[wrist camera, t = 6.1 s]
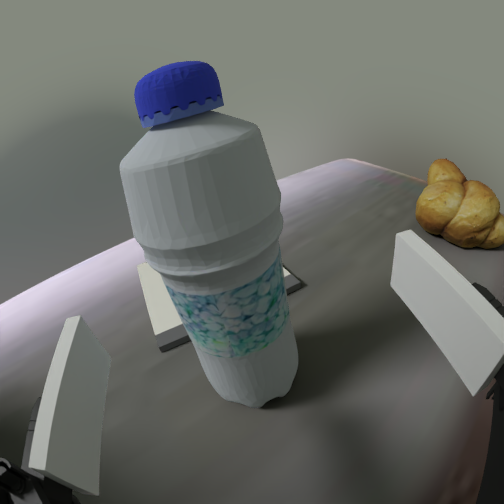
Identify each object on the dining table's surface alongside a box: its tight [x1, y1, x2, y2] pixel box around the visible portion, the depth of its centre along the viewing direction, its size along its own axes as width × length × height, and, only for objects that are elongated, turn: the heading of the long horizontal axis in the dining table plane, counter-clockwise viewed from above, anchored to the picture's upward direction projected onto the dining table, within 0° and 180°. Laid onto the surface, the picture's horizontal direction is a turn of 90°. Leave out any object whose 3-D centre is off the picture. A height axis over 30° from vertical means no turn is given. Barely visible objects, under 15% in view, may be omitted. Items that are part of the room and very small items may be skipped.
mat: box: [137, 262, 301, 352], centre depth 31 cm, size 14×15×1 cm
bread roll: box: [416, 159, 504, 249], centre depth 27 cm, size 13×10×8 cm
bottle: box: [120, 61, 298, 408], centre depth 15 cm, size 7×7×20 cm
